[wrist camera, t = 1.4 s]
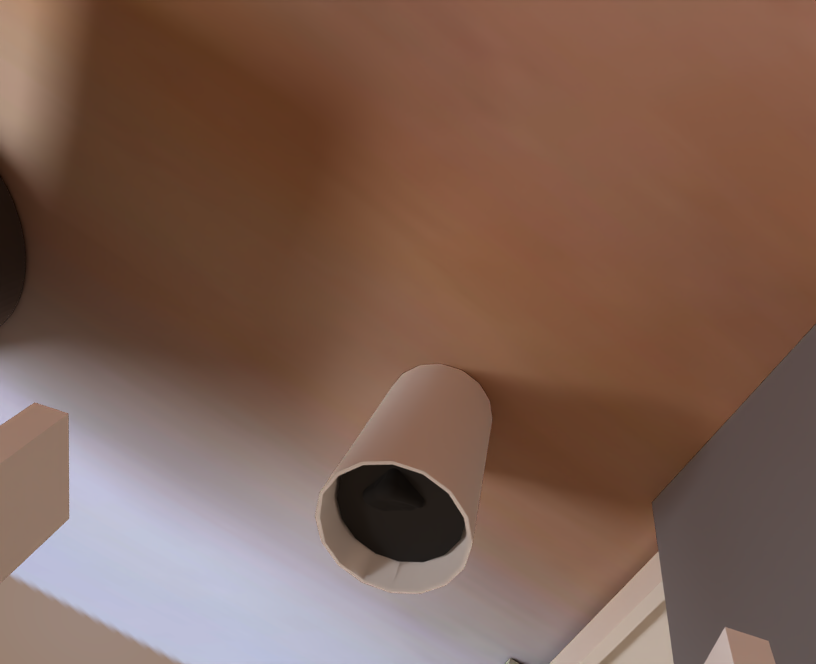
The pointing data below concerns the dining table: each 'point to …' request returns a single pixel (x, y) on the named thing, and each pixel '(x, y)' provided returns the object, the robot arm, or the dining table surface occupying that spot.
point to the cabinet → (747, 524)
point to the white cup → (410, 484)
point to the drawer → (626, 626)
